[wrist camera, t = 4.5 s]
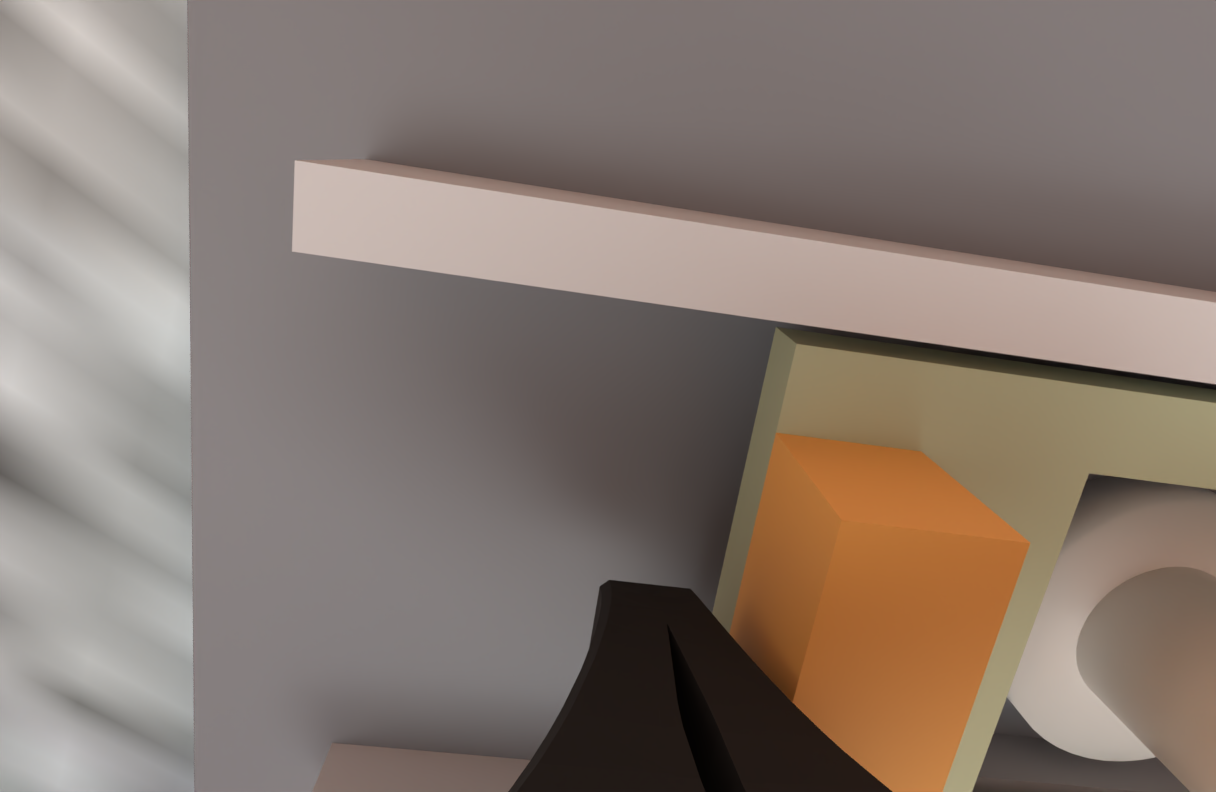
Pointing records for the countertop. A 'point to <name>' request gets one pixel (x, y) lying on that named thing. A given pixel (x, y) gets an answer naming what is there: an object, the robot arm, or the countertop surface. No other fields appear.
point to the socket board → (616, 318)
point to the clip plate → (984, 455)
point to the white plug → (1130, 632)
